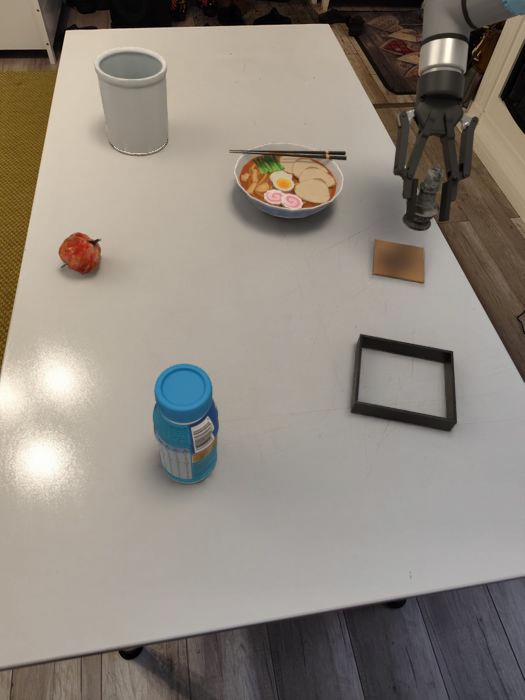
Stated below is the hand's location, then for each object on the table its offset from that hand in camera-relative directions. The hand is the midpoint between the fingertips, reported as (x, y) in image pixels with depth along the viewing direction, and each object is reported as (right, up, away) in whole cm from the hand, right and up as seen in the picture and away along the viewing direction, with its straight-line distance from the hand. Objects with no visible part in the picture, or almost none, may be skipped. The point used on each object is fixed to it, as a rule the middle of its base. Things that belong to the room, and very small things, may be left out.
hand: (426, 219), depth 90 cm
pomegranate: (-62, -7, +7) cm, 63 cm away
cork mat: (-1, -5, +15) cm, 16 cm away
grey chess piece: (0, +1, +5) cm, 5 cm away
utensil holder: (-57, +27, +33) cm, 72 cm away
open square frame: (-5, -28, -3) cm, 29 cm away
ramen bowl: (-24, +9, +23) cm, 34 cm away
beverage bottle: (-39, -39, -13) cm, 56 cm away
